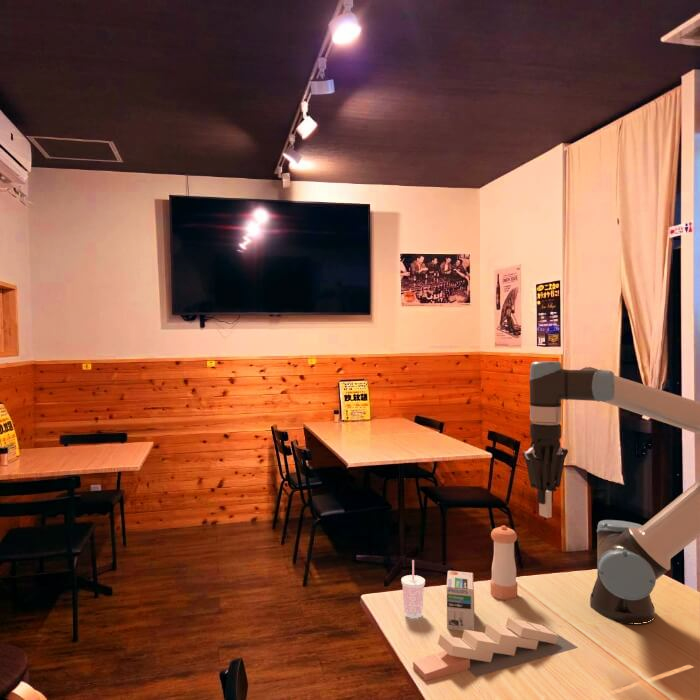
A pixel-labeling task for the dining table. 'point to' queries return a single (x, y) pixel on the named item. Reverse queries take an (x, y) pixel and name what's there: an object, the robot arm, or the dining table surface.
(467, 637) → the loose domino
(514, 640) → the domino
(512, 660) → the slate mat
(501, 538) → the salt shaker
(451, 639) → the domino
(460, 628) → the light bulb box
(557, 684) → the dining table surface
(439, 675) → the domino
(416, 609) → the beverage cup
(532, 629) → the domino
